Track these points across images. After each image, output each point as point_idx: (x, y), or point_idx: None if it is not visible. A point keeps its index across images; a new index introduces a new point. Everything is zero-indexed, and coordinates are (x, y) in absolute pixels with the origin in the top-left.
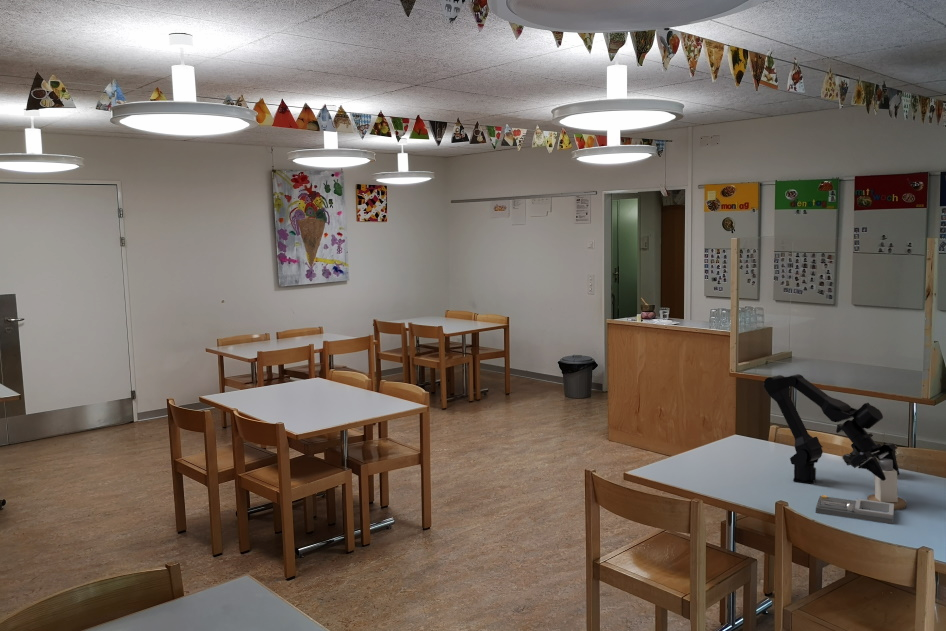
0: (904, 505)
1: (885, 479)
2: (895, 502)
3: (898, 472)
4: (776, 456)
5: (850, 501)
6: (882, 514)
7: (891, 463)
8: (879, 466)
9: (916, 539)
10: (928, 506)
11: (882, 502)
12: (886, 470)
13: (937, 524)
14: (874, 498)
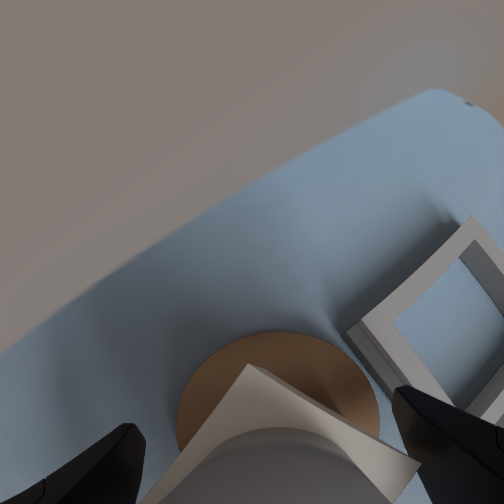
0: (257, 334)
1: (398, 388)
2: None
3: (127, 430)
4: None
5: None
6: (496, 249)
7: (269, 450)
8: (498, 448)
9: (462, 126)
10: (137, 296)
11: (402, 360)
12: (344, 450)
13: (306, 155)
14: None
